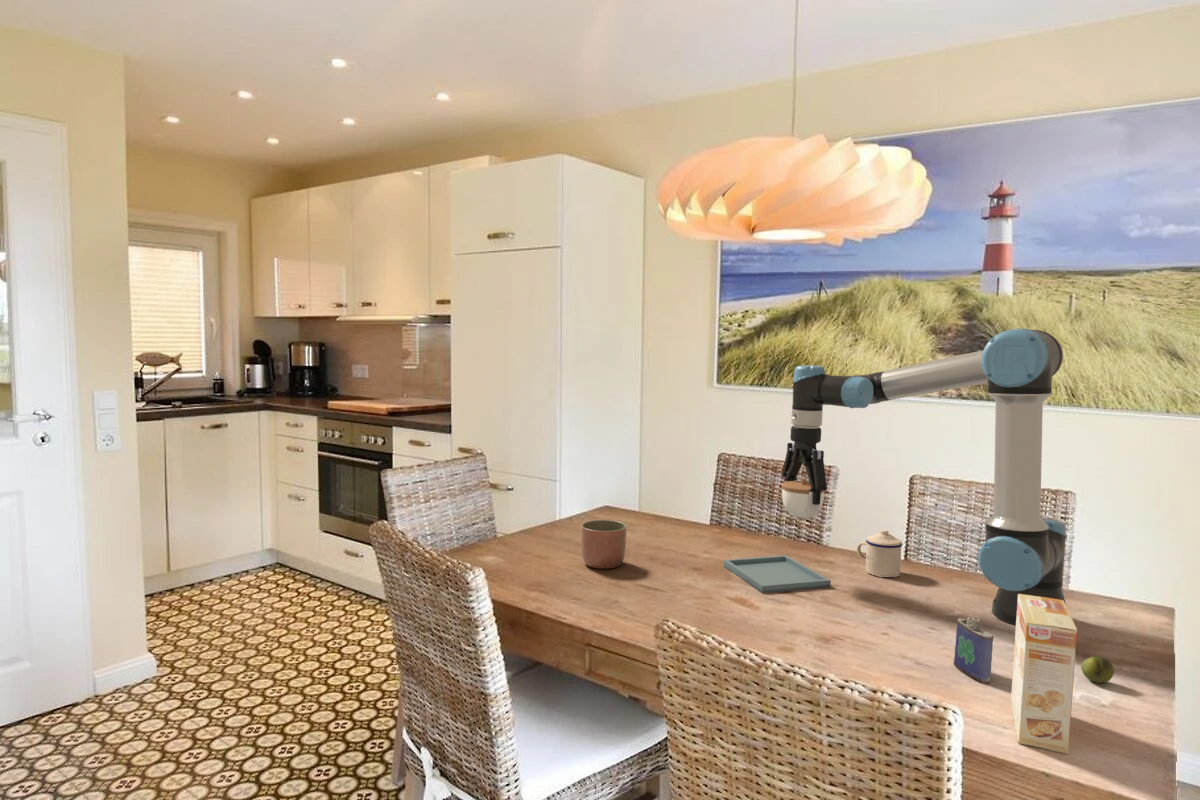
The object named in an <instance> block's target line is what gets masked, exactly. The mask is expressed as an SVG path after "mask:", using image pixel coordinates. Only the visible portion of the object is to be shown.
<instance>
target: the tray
mask: <svg viewBox="0 0 1200 800" xmlns="http://www.w3.org/2000/svg"><path fill="white" fill-rule="evenodd" d="M722 565H723V567H724V568H725V569H727V571H729V572H731V573H732V574H734V575H736V576H737V577H738V578H739V579H741V580H742V581H744V582H745V583H746V584H747V585H749V586H751V587H752V588H754V589H755V590H757V591H758V592H759V593H761V594H767V593H770V594H771V593H779V592H780V593H781V592H789V591H791V592H794V591H802V590H803V589H804V590H812V589H813V590H815V589H814V588H816V589H825V587H827V588H831V579H830V578H827V577H825V576H824V575H822V574H820V573H819V572H817V571H815V570H813V569H811V568H810V567H808V566H806V565H804V564H802V562H801V563H800V562H799V561H797V560H795V559H794V558H792V557H790V556H789V555H785V554H784V555H771V556H759V557H744V558H731V559H730V558H729V559H723V564H722Z"/></svg>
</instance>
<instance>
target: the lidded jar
mask: <svg viewBox="0 0 1200 800" xmlns="http://www.w3.org/2000/svg"><path fill="white" fill-rule="evenodd" d="M810 489H811V486H810V482H809V481H806V478H801V480H797V481H787V482H786V481H784V482H782V483H781V499H782V504H783V506H784V509H786V511H788V512H789V515H790V516H793V517H797V518H803V519H804V518H810V517H808V505H809V490H810ZM824 499H825V491H822V492H821V497H820V509H822V505H823V503H824Z"/></svg>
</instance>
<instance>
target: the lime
mask: <svg viewBox="0 0 1200 800" xmlns="http://www.w3.org/2000/svg"><path fill="white" fill-rule="evenodd" d="M1080 669H1081V672H1082V674H1083V675H1084V677H1085V678H1086V679H1088V680H1089V681H1091V682H1092V683H1097V684H1104V683H1107V682H1109V681H1110V680H1111V679H1113V676H1114V674H1115V668H1114V666H1113V664H1112V662H1111V661H1110V660H1108V659H1107V658H1105V657H1102V656H1090V657H1089V658H1086V659H1084V660H1083V661H1082V663H1081V668H1080Z"/></svg>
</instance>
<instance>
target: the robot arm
mask: <svg viewBox="0 0 1200 800" xmlns="http://www.w3.org/2000/svg"><path fill="white" fill-rule="evenodd" d="M1063 360H1064V352H1063V348H1062V345H1061V344H1060V342H1059V341H1058V339H1057V338H1055V337H1054V336H1053V335H1051V334H1050V333H1048V332H1046V331H1044V330H1043V331H1042V330H1040V329H1028V328H1014V329H1011V328H1010V329H1008V330H1004V331H1002V332H999V333H998V334H995V336H993V337H992V338H991V339H990V340H988V342H987V343H986V345H985V346H984V348H983V350H978V351H974V352H969V353H964V354H960V355H955V356H950V357H945V358H941V359H935V360H930V361H927V362H921V363H916V364H912V365H908V366H902V367H898V368H894V369H893V368H892V369H888V370H884V371H878V372H873V373H869V374H859V375H835V374H833V375H832V374H831V375H830V374H826V370H825V369H826V368H825V366H824V367H823V366H821V365H805V364H804V365H801V364H800V365H797V366H796V367H795V368H794V373H793V381H792V384H793V385H792V404H791V405H792V407H791V408H792V409H791V414H790V417H791V424H792V426H791V427H790V441H792V442H787V446H786V447H787V448H786V454H785V458H784V462H783V463H784V464H783V467H782V471H781V477H782V478H784V481H785V482H787V481H798V477H797V476H798V474H799V472H800V470H801V467H802V465H803V466H804V467H805V469H806V473H807V478H808V482H810V486H811V489H810V490H809V505H808V517H809V518H819V517H820V510H821V508H820V497H821V492H822V491H824V492H825V491H827V490H828V487H827V480H826V479H827V478H826V471H825V469H826V468H825V463H824V462H825V461H824V459H825V458H824V457H825V451H824V450H818V449H817V444H818V443H821V441H822V428H821V426H823V407H824V406H835V407H836V406H837V407H844V408H850V409H866V408H867V407H869V405H874V404H879V403H883V402H888V401H893V400H898V399H904V398H909V397H914V396H921V395H925V394H932V393H938V392H943V391H944V392H945V391H949V390H956V389H960V388H966V387H972V386H977V385H983V384H984V385H985V384H987V395H988V396H989V397H990V398H992V399H993V400H994V402H995V416H994V417H995V420H994V421H995V424H994V427H995V428H994V432H995V433H994V473H993V474H994V480H993V481H994V482H993V485H994V486H993V513H992V515H991V516H989V517H988V518H986V520H985V532H984V533H985V534H984V535H985V539H984V541H985V542H984V543H982V545H981V548H980V549H979V551H978V554H977V555H978V556H977V557H978V559H977V561H978V566H979V568H980V571H981V572H982V574H983V576H984V577H985V578H986V579H987V580H988V581H989V582H990V583H991V584H993V585H994V586H995V587H998V589H997V593H996V596H995V597H994V599H993V600H992V605H991V608H992V609H991V613H992V614H993V615H994V616H995V618H998V619H1000V620H1001V621H1004V622H1006V623H1007V624H1008V623H1009V624H1012V625H1014V626H1016V616H1017V601H1018V594H1024V595H1031V596H1038V597H1046V598H1053V599H1059V600H1063V601H1064V603H1065V605H1066V606H1067V604H1066V599H1065V596H1064V595H1065V594H1064V591H1063V580H1064V566H1065V552H1066V540H1067V538H1068V536H1067V531H1066V529H1067V527H1066V525H1065V523H1064V522H1061V521H1059V520H1055V519H1050V518H1045V517H1041V506H1042V505H1041V504H1042V503H1041V502H1042V499H1041V498H1042V495H1041V494H1042V460H1043V459H1042V458H1043V457H1042V455H1043V454H1042V453H1043V451H1042V450H1043V412H1044V411H1043V410H1044V409H1043V404H1044V402H1045V401H1046V400H1047V399H1048V398H1050V397H1051V396H1052V389H1053V388H1052V386H1053V383H1052V382H1053V376H1055V375H1057V373H1058V371H1059V370H1060V369H1061V366H1062V364H1063Z"/></svg>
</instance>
